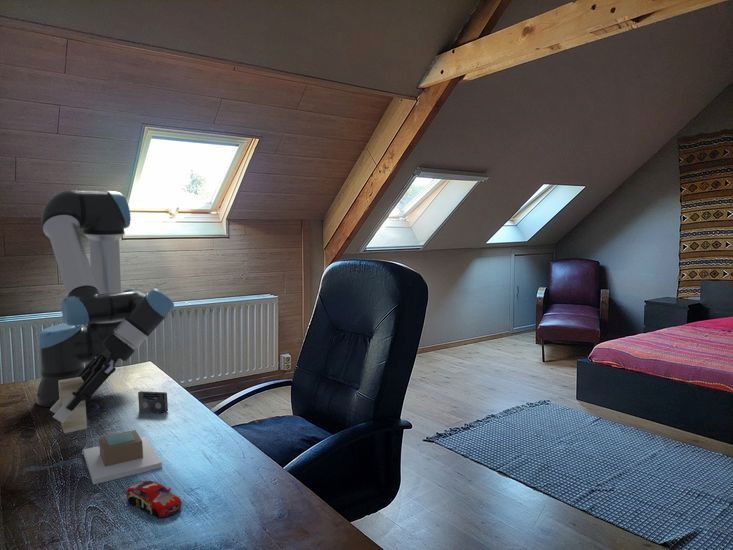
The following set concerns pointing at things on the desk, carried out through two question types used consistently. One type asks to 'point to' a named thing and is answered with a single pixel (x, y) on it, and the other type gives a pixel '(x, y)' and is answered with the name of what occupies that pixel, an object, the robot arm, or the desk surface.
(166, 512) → the race car
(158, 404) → the mini dv tape
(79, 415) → the maple pillar
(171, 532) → the desk surface
